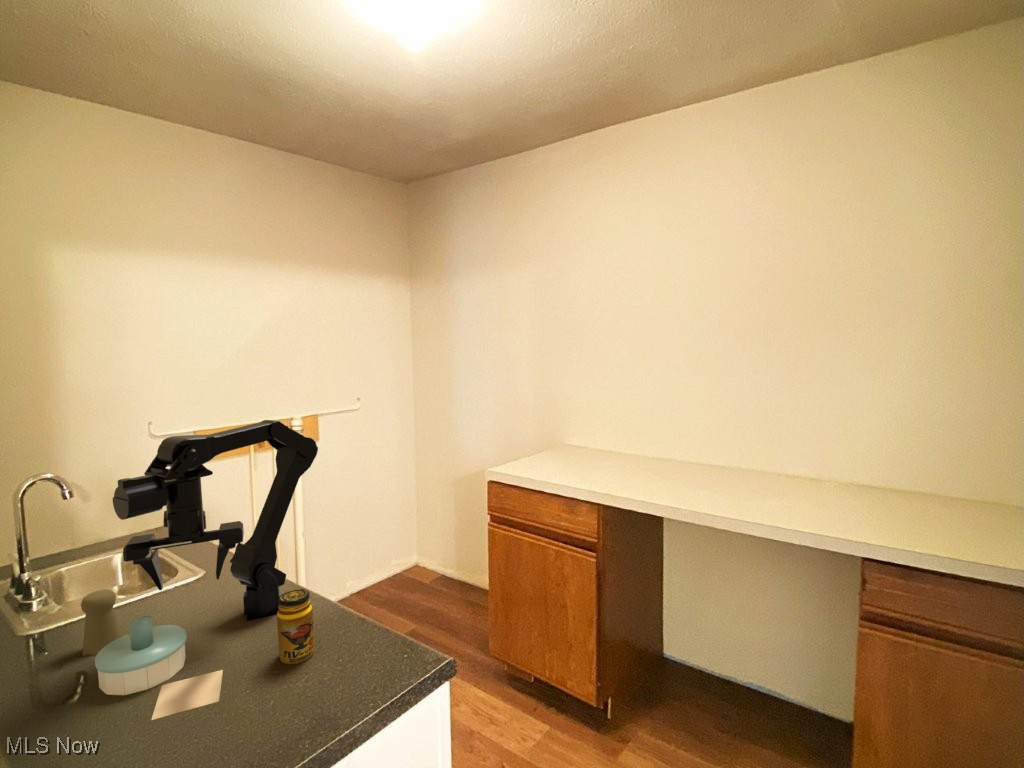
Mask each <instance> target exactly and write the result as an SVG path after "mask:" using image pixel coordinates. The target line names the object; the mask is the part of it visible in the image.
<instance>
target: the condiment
mask: <svg viewBox="0 0 1024 768" xmlns="http://www.w3.org/2000/svg"><path fill="white" fill-rule="evenodd" d="M310 596H311V595H310V592H309V590H307V589H305V588H294V589H290V590H287V591H285V592H283V593H282V594H281V595H279V599H278V602H279V606H278V609H279V610H278V612H277V615H276V623H277V638H278V639H277V640H278V658H279V660H280V662H281V663H282V664H283V663H284V664H286V665H295V664H300V663H302V662H304V661H306V660H309V659H310V658H311V657H312V656H313V655H314V651H315V645H316V643H315V631H314V630H315V628H314V611H313V610H314V609H313V605H312V604H311V598H310Z"/></svg>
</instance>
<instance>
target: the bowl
mask: <svg viewBox="0 0 1024 768" xmlns="http://www.w3.org/2000/svg"><path fill="white" fill-rule="evenodd" d="M185 644H186V642H185V643H184V645H183V646H182V647H181V648H180V649H179V650H178V651H177V652H175V653H174V654H172V655H171V656H169V657H168V658H166V659H164V660H162V661H160V662H158V663H155V664H153V665H150V666H148V667H145V668H141V669H138V670H134V671H129V672H123V673H105V672H101V671H99V670H98V669H97V677H98V679H97V680H98V688H99V690H101V691H102V692H103V693H104V694H105V695H108V696H109V695H111V696H127V695H132V694H134V693H135V694H136V693H139V692H143V691H146V690H150V689H151V688H154V687H155V686H158V685H160V684H162V683H163V682H166V681H168V680H170V679H171V678H172V677H173V676H174V675H176V674H177V673H178V672H179V671H180V670H182V669H183V667H184V665H185V660H186V645H185Z"/></svg>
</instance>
